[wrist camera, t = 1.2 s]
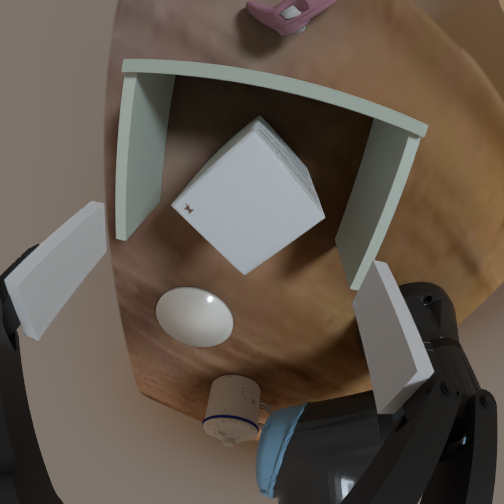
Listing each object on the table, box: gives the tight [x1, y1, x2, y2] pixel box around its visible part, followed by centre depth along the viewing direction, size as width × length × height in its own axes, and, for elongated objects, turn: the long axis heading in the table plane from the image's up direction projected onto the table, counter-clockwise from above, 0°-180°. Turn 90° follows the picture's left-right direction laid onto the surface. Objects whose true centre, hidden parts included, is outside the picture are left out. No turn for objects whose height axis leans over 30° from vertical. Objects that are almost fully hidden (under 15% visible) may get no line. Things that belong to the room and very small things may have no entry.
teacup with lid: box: [202, 375, 274, 447], centre depth 44 cm, size 12×9×12 cm
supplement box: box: [171, 116, 325, 275], centre depth 24 cm, size 7×7×13 cm
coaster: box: [156, 286, 233, 347], centre depth 41 cm, size 11×11×1 cm
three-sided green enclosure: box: [115, 59, 428, 290], centre depth 25 cm, size 15×22×10 cm
